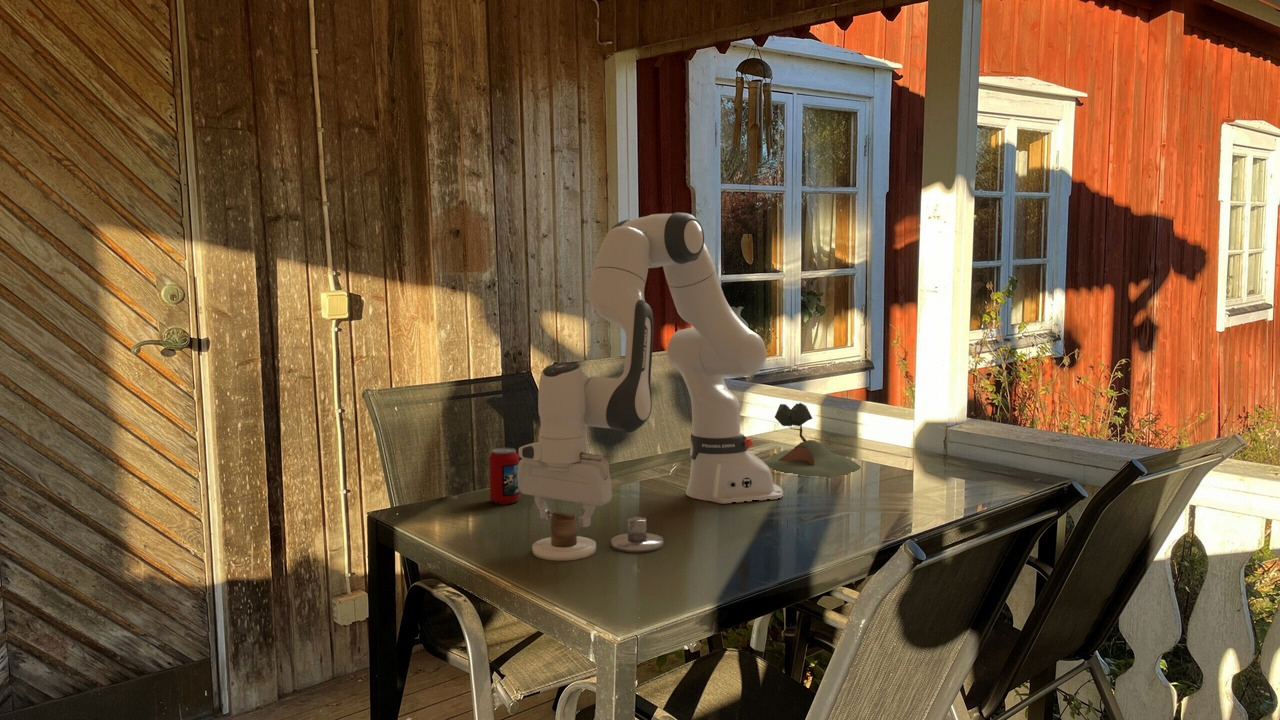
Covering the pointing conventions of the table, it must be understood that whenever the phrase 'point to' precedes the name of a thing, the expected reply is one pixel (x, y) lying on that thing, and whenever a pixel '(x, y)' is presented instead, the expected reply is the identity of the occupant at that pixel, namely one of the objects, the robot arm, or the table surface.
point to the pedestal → (637, 538)
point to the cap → (563, 530)
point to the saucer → (564, 549)
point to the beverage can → (504, 475)
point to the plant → (807, 450)
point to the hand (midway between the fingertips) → (565, 522)
